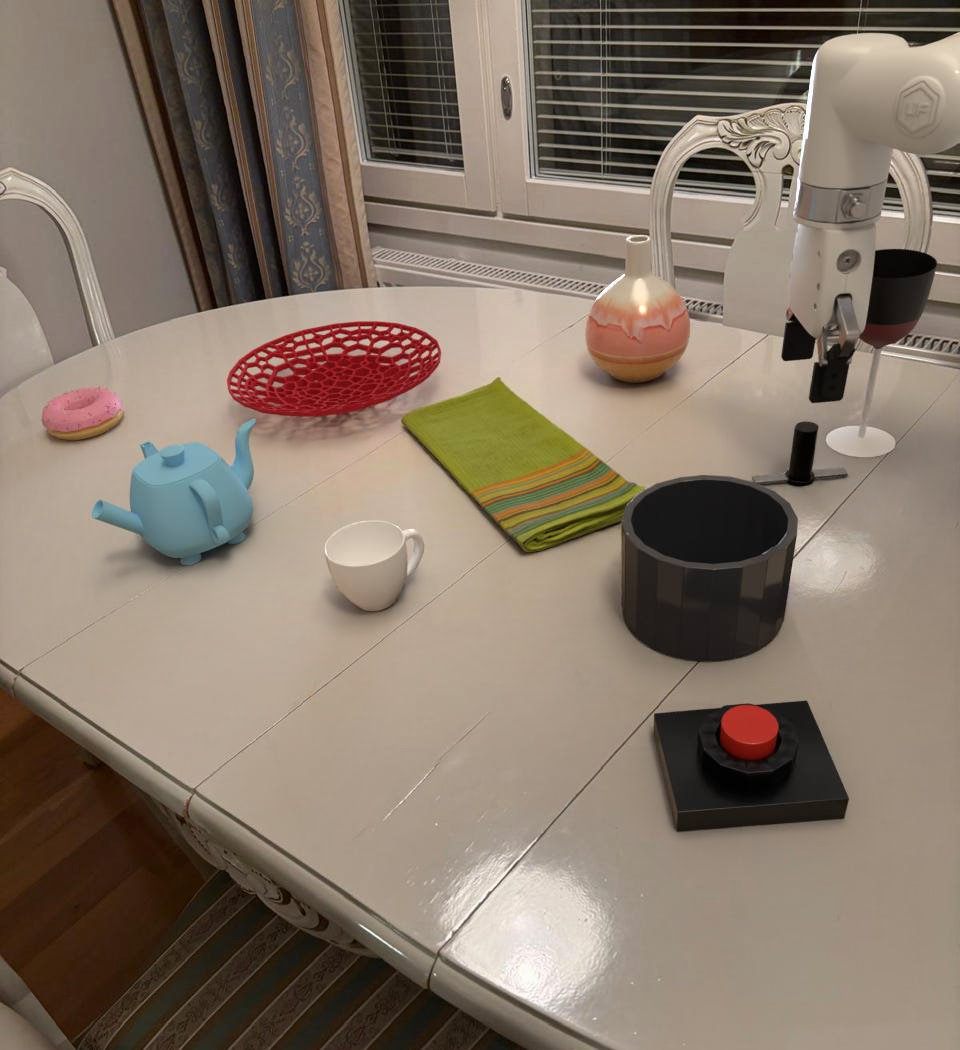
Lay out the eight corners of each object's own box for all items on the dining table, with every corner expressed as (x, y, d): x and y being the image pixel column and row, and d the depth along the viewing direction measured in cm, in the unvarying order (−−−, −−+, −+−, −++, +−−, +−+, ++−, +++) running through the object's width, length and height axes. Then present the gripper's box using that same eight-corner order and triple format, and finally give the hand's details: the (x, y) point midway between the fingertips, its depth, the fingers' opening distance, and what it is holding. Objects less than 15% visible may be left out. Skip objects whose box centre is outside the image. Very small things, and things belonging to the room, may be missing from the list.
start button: (767, 718, 69) (770, 702, 68) (782, 758, 66) (785, 741, 65) (714, 723, 69) (715, 706, 68) (726, 763, 66) (728, 746, 65)
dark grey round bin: (760, 557, 90) (771, 468, 84) (804, 654, 79) (820, 559, 73) (612, 571, 91) (612, 483, 84) (634, 669, 80) (636, 576, 73)
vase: (605, 403, 119) (604, 264, 107) (573, 363, 129) (569, 232, 118) (704, 383, 120) (713, 244, 109) (664, 345, 131) (669, 215, 119)
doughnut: (126, 402, 134) (116, 375, 131) (128, 433, 126) (117, 405, 123) (50, 418, 132) (38, 391, 129) (46, 452, 124) (33, 423, 121)
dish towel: (525, 560, 94) (522, 533, 92) (399, 426, 119) (395, 403, 117) (652, 514, 98) (653, 488, 96) (504, 395, 123) (502, 372, 121)
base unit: (803, 719, 73) (810, 683, 71) (844, 818, 65) (853, 781, 63) (653, 732, 74) (654, 696, 71) (676, 831, 66) (678, 795, 63)
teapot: (172, 502, 110) (141, 415, 103) (280, 502, 107) (255, 413, 100) (114, 578, 99) (74, 487, 91) (233, 580, 96) (202, 487, 89)
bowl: (365, 465, 112) (358, 427, 109) (191, 427, 125) (180, 393, 122) (483, 367, 131) (480, 333, 128) (321, 344, 144) (315, 312, 140)
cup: (324, 596, 92) (309, 541, 88) (408, 557, 96) (398, 502, 92) (361, 633, 87) (347, 576, 83) (448, 590, 91) (440, 534, 87)
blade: (840, 467, 101) (849, 414, 97) (850, 482, 99) (860, 428, 95) (749, 476, 102) (755, 424, 98) (756, 491, 99) (762, 438, 95)
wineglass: (812, 450, 105) (839, 273, 92) (838, 418, 110) (867, 245, 97) (884, 465, 101) (923, 282, 88) (907, 431, 106) (947, 253, 93)
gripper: (918, 225, 75) (877, 415, 86) (849, 170, 88) (821, 341, 99) (826, 234, 76) (797, 422, 87) (770, 178, 89) (752, 348, 100)
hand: (810, 379), depth 93 cm, fingers open, 9 cm apart
